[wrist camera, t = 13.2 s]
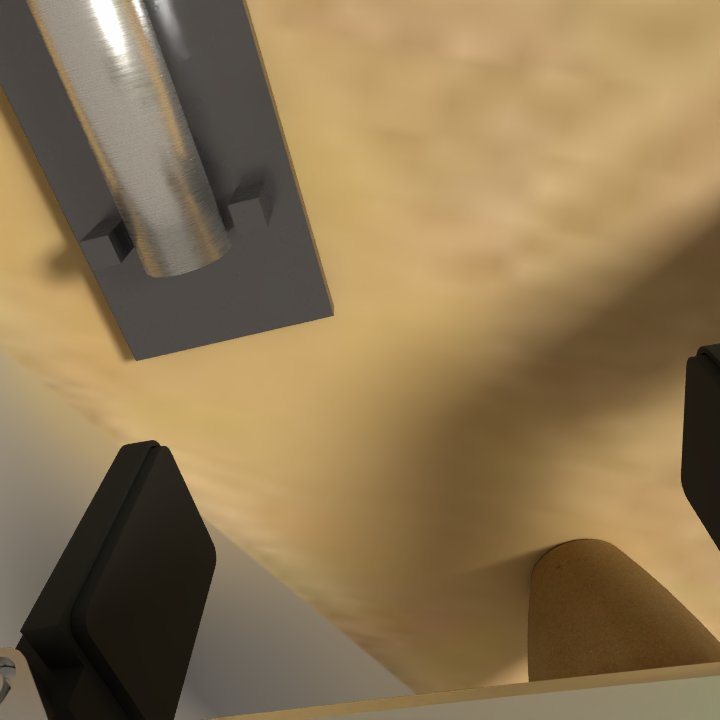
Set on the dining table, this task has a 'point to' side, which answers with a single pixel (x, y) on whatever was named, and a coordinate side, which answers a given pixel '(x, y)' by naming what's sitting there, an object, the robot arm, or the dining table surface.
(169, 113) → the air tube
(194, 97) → the saddle stand
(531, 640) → the plant pot
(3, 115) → the dining table surface
